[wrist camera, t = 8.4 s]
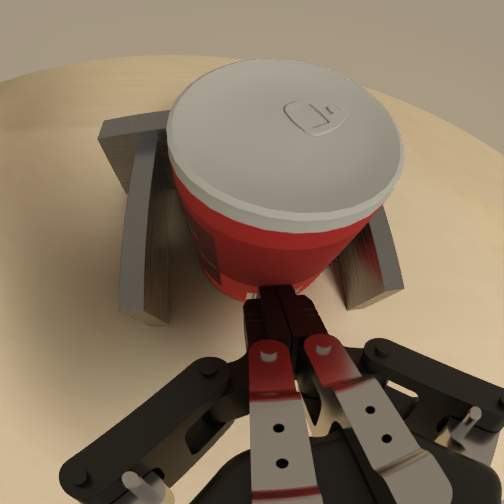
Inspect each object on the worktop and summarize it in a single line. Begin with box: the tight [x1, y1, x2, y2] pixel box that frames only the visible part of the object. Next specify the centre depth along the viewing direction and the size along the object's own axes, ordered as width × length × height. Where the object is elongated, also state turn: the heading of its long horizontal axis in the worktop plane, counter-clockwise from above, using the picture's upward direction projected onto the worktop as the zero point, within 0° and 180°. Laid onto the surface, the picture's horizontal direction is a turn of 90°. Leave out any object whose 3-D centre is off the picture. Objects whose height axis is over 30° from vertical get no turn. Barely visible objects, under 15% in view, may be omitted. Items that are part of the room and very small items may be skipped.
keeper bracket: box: [98, 110, 404, 325], centre depth 16 cm, size 11×18×6 cm, turn 95°
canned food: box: [166, 59, 404, 302], centre depth 13 cm, size 8×8×11 cm
